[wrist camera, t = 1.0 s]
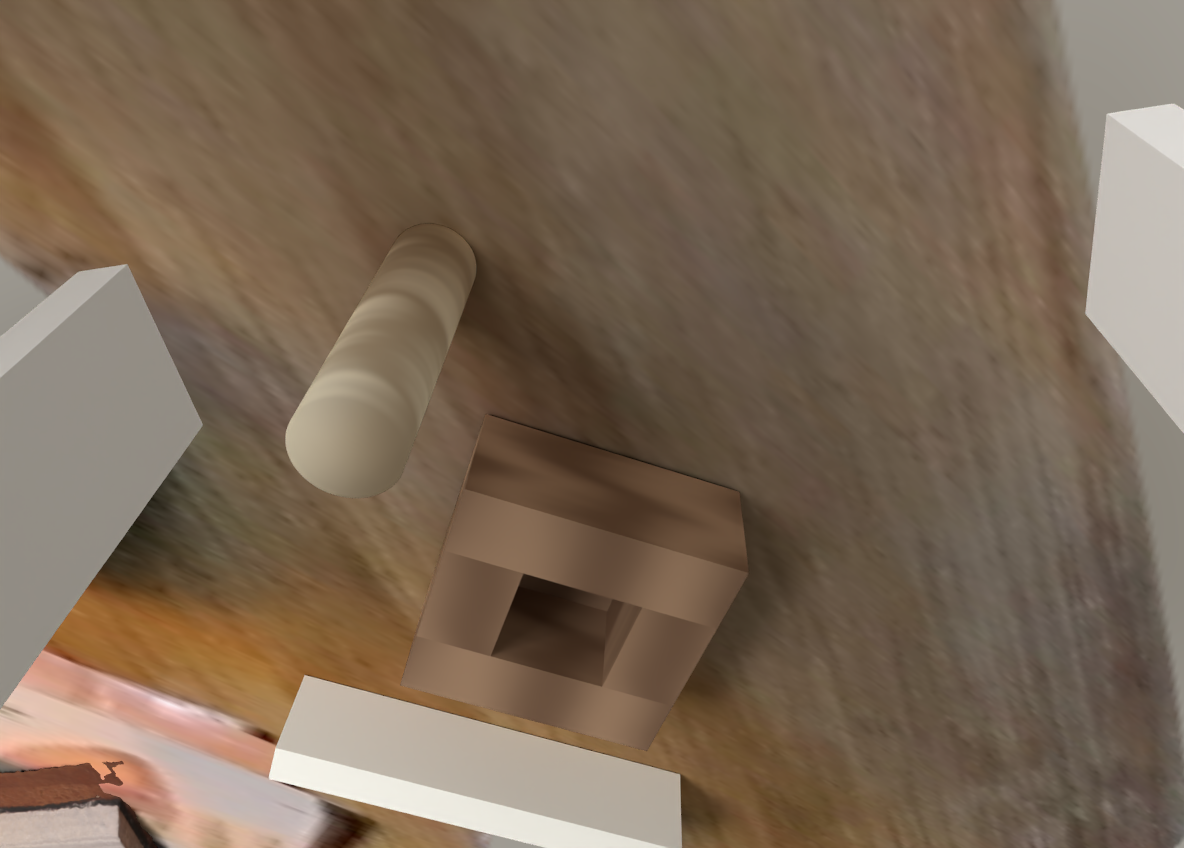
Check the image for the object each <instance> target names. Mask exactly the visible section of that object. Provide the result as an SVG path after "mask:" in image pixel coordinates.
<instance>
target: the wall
mask: <svg viewBox="0 0 1184 848" xmlns="http://www.w3.org/2000/svg"><path fill="white" fill-rule="evenodd" d="M269 779H272V780H276V781H280V782H284V783H288V784H292V785H296V786H300V787H304V788H308V789H312V790H316V791H320V792H324V793H328V794H332V795H336V796H340V797H344V798H348V799H352V800H356V801H360V802H364V803H368V804H372V805H376V806H380V807H384V808H388V809H392V810H396V811H400V812H404V813H408V814H412V815H416V816H420V817H424V818H428V819H432V820H436V821H440V822H444V823H448V824H452V825H456V826H460V827H464V828H468V829H472V830H476V831H480V832H484V833H488V834H492V835H496V836H501V837H504V838H508V839H512V840H516V841H520V842H525V843H528V844H532V845H536V846H540V847H544V848H682V832H681V790H680V774H677V773H673V772H669V771H666V770H662V769H658V768H654V767H650V766H647V765H643V764H639V763H635V762H632V761H628V760H624V759H620V758H616V757H613V756H609V755H605V754H601V753H598V752H594V751H590V750H586V749H582V748H579V747H575V746H571V745H567V744H563V743H560V742H556V741H552V740H548V739H545V738H541V737H537V736H533V735H529V734H526V733H522V732H518V731H514V730H511V729H507V728H503V727H499V726H495V725H492V724H488V723H484V722H480V721H477V720H473V719H469V718H465V717H461V716H458V715H454V714H450V713H446V712H443V711H439V710H435V709H431V708H427V707H424V706H420V705H416V704H412V703H409V702H405V701H401V700H397V699H393V698H390V697H386V696H382V695H378V694H375V693H371V692H367V691H363V690H359V689H356V688H352V687H348V686H344V685H341V684H337V683H333V682H329V681H325V680H322V679H318V678H314V677H310V676H307V675H305V676H304V678H303V681H302V683H301V686H300V688H299V691H298V693H297V696H296V698H295V701H294V703H293V706H292V708H291V711H290V713H289V716H288V718H287V721H286V723H285V726H284V728H283V731H282V733H281V736H280V738H279V741H278V743H277V746H276V749H275V753H274V757H273V762H272V766H271V770H270V775H269Z"/></svg>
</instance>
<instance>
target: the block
mask: <svg viewBox="0 0 1184 848" xmlns="http://www.w3.org/2000/svg"><path fill="white" fill-rule="evenodd" d="M748 574H749V568H748V559H747V551H746V543H745V534H744V526H743V517H742V509H741V500H740V492H738V491H735V490H731V489H728V488H725V487H721V486H718V485H715V484H712V483H708V482H705V481H702V480H699V479H695V478H692V477H689V476H686V475H682V474H679V473H676V472H673V471H669V470H666V469H663V468H660V467H656V466H653V465H650V464H647V463H643V462H640V461H637V460H634V459H630V458H627V457H624V456H621V455H617V454H614V453H611V452H608V451H604V450H601V449H598V448H595V447H591V446H588V445H585V444H582V443H578V442H575V441H572V440H569V439H565V438H562V437H559V436H556V435H552V434H549V433H546V432H543V431H539V430H536V429H533V428H530V427H526V426H523V425H520V424H517V423H513V422H510V421H507V420H504V419H500V418H497V417H494V416H491V415H487V414H485V417H484V420H483V423H482V426H481V429H480V432H479V435H478V438H477V441H476V445H475V448H474V451H473V454H472V457H471V460H470V463H469V466H468V469H467V472H466V475H465V478H464V481H463V484H462V487H461V491H460V494H459V497H458V500H457V503H456V506H455V509H454V512H453V515H452V518H451V521H450V524H449V527H448V530H447V534H446V537H445V540H444V543H443V546H442V549H441V552H440V555H439V558H438V561H437V564H436V567H435V570H434V573H433V576H432V580H431V583H430V586H429V589H428V592H427V595H426V598H425V601H424V604H423V608H422V611H421V615H420V618H419V622H418V625H417V629H416V632H415V636H414V639H413V643H412V646H411V650H410V653H409V657H408V660H407V664H406V667H405V671H404V674H403V677H402V681H401V684H400V685H401V686H404V687H408V688H412V689H416V690H419V691H423V692H427V693H431V694H434V695H438V696H442V697H446V698H449V699H453V700H457V701H461V702H464V703H468V704H472V705H476V706H479V707H483V708H487V709H491V710H494V711H498V712H502V713H506V714H509V715H513V716H517V717H521V718H524V719H528V720H532V721H536V722H539V723H543V724H547V725H551V726H554V727H558V728H562V729H566V730H569V731H573V732H577V733H581V734H584V735H588V736H592V737H596V738H599V739H603V740H607V741H611V742H614V743H618V744H622V745H626V746H629V747H633V748H637V749H641V750H644V751H647V750H648V748H649V747H650V745H651V743H652V741H653V740H654V738H655V736H656V734H657V733H658V731H659V729H660V727H661V726H662V724H663V722H664V721H665V719H666V717H667V715H668V714H669V712H670V710H671V708H672V707H673V705H674V703H675V701H676V700H677V698H678V696H679V694H680V693H681V691H682V689H683V687H684V686H685V684H686V682H687V680H688V679H689V677H690V675H691V674H692V672H693V670H694V668H695V667H696V665H697V663H698V661H699V660H700V658H701V656H702V654H703V653H704V651H705V649H706V647H707V646H708V644H709V642H710V640H711V639H712V637H713V635H714V633H715V632H716V630H717V628H718V627H719V625H720V623H721V621H722V620H723V618H724V616H725V614H726V613H727V611H728V609H729V607H730V606H731V604H732V602H733V600H734V599H735V597H736V595H737V593H738V592H739V590H740V588H741V586H742V585H743V583H744V581H745V580H746V578H747V576H748Z"/></svg>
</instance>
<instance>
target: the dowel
mask: <svg viewBox="0 0 1184 848" xmlns="http://www.w3.org/2000/svg"><path fill="white" fill-rule="evenodd" d="M476 270H477V267H476V260H475V256H474V253H473V251H472V249H471V247H470V246H469V244H468V243H467V242H466V241H465V239H464V238H463V237H462V236H460V235H459V234H458V233H456V232H455V231H453V230H452V229H450V228H447V227H445V226H442V225H438V224H419V225H415V226H413V227H410V228H408V229H407V230H405V231H404V232H403V233H401V234H400V235H399V236H398V238H397V239H396V241H395V242H394V244H393V246H392V247H391V249H390V251H389V252H388V254H387V256H386V258H385V259H384V261H383V263H382V264H381V266H380V268H379V270H378V271H377V273H376V275H375V276H374V278H373V280H372V282H371V283H370V285H369V287H368V288H367V290H366V292H365V294H364V295H363V297H362V299H361V300H360V302H359V304H358V306H357V307H356V309H355V311H354V312H353V314H352V316H351V318H350V319H349V321H348V323H347V324H346V326H345V328H344V330H343V331H342V333H341V335H340V336H339V338H338V340H337V342H336V343H335V345H334V347H333V348H332V350H331V352H330V354H329V355H328V357H327V359H326V360H325V362H324V364H323V366H322V367H321V369H320V371H319V372H318V374H317V376H316V378H315V379H314V381H313V383H312V384H311V386H310V388H309V390H308V391H307V393H306V395H305V396H304V398H303V400H302V402H301V403H300V405H299V407H298V408H297V410H296V412H295V414H294V415H293V417H292V419H291V420H290V423H289V425H288V427H287V431H286V437H285V441H286V449H287V453H288V455H289V458H290V460H291V462H292V464H293V465H294V467H295V468H296V469H297V471H298V472H299V473H300V474H301V475H302V476H303V477H304V478H305V479H306V480H307V481H309V482H310V483H311V484H313V485H314V486H316V487H317V488H319V489H321V490H323V491H325V492H328V493H330V494H333V495H337V496H341V497H347V498H366V497H371V496H375V495H378V494H380V493H383V492H385V491H386V490H388V489H389V488H391V487H392V486H393V485H394V484H395V483H396V482H397V481H398V480H399V478H400V477H401V475H402V473H403V470H404V468H405V465H406V462H407V460H408V457H409V454H410V452H411V449H412V446H413V444H414V441H415V438H416V436H417V433H418V430H419V428H420V425H421V422H422V420H423V417H424V414H425V412H426V409H427V406H428V404H429V401H430V398H431V395H432V393H433V390H434V387H435V385H436V382H437V379H438V377H439V374H440V371H441V369H442V366H443V363H444V361H445V358H446V355H447V353H448V350H449V347H450V345H451V342H452V339H453V337H454V334H455V331H456V329H457V326H458V323H459V320H460V318H461V315H462V312H463V310H464V307H465V304H466V302H467V299H468V296H469V294H470V291H471V288H472V286H473V283H474V280H475V277H476Z"/></svg>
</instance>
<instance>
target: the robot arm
mask: <svg viewBox="0 0 1184 848" xmlns="http://www.w3.org/2000/svg"><path fill="white" fill-rule="evenodd" d="M1085 314H1086V315H1087V316H1088V318H1089V319H1090V320H1091V321H1092V323H1093V324H1094V325H1095V326H1096V327H1097V329H1098V330H1099V331H1100V332H1101V333H1102V335H1103V336H1104V337H1105V338H1106V340H1107V341H1108V342H1109V343H1110V344H1111V346H1112V347H1113V348H1114V349H1115V351H1116V352H1117V353H1118V354H1119V355H1120V357H1121V358H1122V359H1123V360H1124V361H1125V363H1126V364H1127V365H1128V366H1129V368H1130V369H1131V370H1132V371H1133V372H1134V373H1135V375H1136V376H1137V377H1138V379H1139V380H1140V381H1141V382H1142V383H1143V385H1144V386H1145V387H1146V388H1147V389H1148V391H1149V392H1150V393H1151V394H1152V396H1153V397H1154V398H1155V399H1156V400H1157V402H1158V403H1159V404H1160V405H1161V406H1162V408H1163V409H1164V410H1165V411H1166V413H1167V414H1168V415H1169V416H1170V417H1171V419H1172V420H1173V421H1174V422H1175V424H1176V425H1177V426H1178V427H1179V428H1180V430H1181V431H1182V432H1183V433H1184V109H1182V108H1180V107H1179V106H1177V105H1175V104H1167V105H1160V106H1154V107H1147V108H1141V109H1134V110H1128V111H1122V112H1114V113H1109V114H1107V117H1106V127H1105V136H1104V146H1103V154H1102V164H1101V173H1100V182H1099V191H1098V201H1097V210H1096V219H1095V228H1094V238H1093V247H1092V256H1091V265H1090V275H1089V284H1088V293H1087V303H1086V312H1085ZM202 426H203V424H202V422H201V420H200V418H199V416H198V414H197V411H196V409H195V407H194V405H193V403H192V401H191V399H190V396H189V394H188V392H187V390H186V388H185V386H184V384H183V382H182V379H181V377H180V375H179V373H178V371H177V369H176V367H175V365H174V362H173V360H172V358H171V356H170V354H169V352H168V350H167V348H166V345H165V343H164V341H163V339H162V337H161V335H160V333H159V331H158V328H157V326H156V324H155V322H154V320H153V318H152V316H151V314H150V311H149V309H148V307H147V305H146V303H145V301H144V299H143V297H142V294H141V292H140V290H139V288H138V286H137V284H136V282H135V280H134V277H133V275H132V273H131V271H130V269H129V267H128V265H127V264H125V265H119V266H112V267H106V268H99V269H93V270H86V271H80V272H77V273H76V274H75V275H74V276H73V277H71V278H70V279H69V280H68V281H67V282H65V283H64V284H63V285H62V286H61V287H59V288H58V289H57V290H56V291H55V292H53V293H52V294H51V295H50V296H49V297H47V298H46V299H45V300H44V301H43V302H41V303H40V304H39V305H38V306H37V307H35V308H34V309H33V310H32V311H31V312H29V313H28V314H27V315H26V316H25V317H23V318H22V319H21V320H20V321H19V322H17V323H16V324H15V325H14V326H13V327H12V328H10V329H9V330H8V331H7V332H5V333H4V334H3V335H2V336H0V709H1V707H2V706H3V705H4V703H5V702H6V700H7V699H8V698H9V696H10V695H11V693H12V692H13V691H14V689H15V688H16V686H17V685H18V684H19V682H20V681H21V679H22V678H23V677H24V675H25V674H26V672H27V671H28V670H29V668H30V667H31V665H32V664H33V663H34V661H35V660H36V658H37V657H38V656H39V654H40V653H41V651H42V650H43V649H44V647H45V646H46V644H47V643H48V642H49V640H50V639H51V637H52V636H53V635H54V633H55V632H56V630H57V629H58V628H59V626H60V625H61V623H62V622H63V621H64V619H65V618H66V616H67V615H68V614H69V612H70V611H71V609H72V608H73V607H74V605H75V604H76V602H77V601H78V600H79V598H80V597H81V595H82V594H83V593H84V591H85V590H86V588H87V587H88V586H89V584H90V583H91V581H92V580H93V579H94V577H95V576H96V574H97V573H98V572H99V570H100V569H101V567H102V566H103V565H104V563H105V562H106V560H107V559H108V558H109V556H110V555H111V553H112V552H113V551H114V549H115V548H116V546H117V545H118V544H119V542H120V541H121V539H122V538H123V537H124V535H125V534H126V532H127V531H128V530H129V528H130V527H131V525H132V524H133V523H134V521H135V520H136V518H137V517H138V516H139V514H140V513H141V511H142V510H143V509H144V507H145V506H146V504H147V503H148V501H149V500H150V499H151V497H152V496H153V494H154V493H155V492H156V490H157V489H158V487H159V486H160V485H161V483H162V482H163V480H164V479H165V478H166V476H167V475H168V473H169V472H170V471H171V469H172V468H173V466H174V465H175V464H176V462H177V461H178V459H179V458H180V457H181V455H182V454H183V452H184V451H185V450H186V448H187V447H188V445H189V444H190V443H191V441H192V440H193V438H194V437H195V436H196V434H197V433H198V431H199V430H200V429H201V427H202Z"/></svg>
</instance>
